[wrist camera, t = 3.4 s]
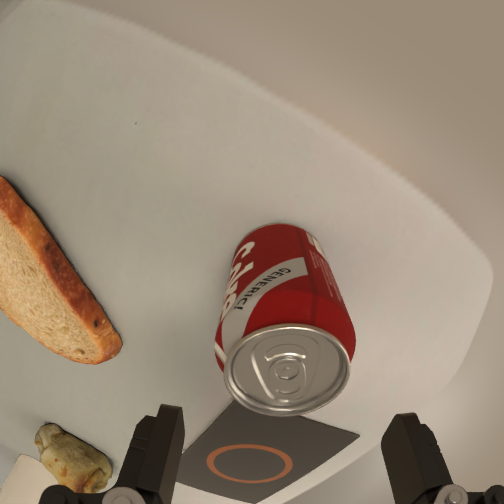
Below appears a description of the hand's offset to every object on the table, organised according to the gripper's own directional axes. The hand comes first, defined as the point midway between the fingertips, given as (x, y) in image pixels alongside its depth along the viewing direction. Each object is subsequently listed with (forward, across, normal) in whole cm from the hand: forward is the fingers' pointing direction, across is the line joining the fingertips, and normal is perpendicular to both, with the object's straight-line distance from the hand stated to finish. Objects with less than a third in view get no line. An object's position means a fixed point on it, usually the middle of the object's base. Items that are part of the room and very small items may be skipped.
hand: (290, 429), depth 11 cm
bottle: (+15, +42, +53) cm, 70 cm away
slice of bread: (+15, +22, +3) cm, 27 cm away
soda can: (+15, 0, 0) cm, 15 cm away
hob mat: (+15, 0, +28) cm, 32 cm away
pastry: (+15, +26, +35) cm, 46 cm away
